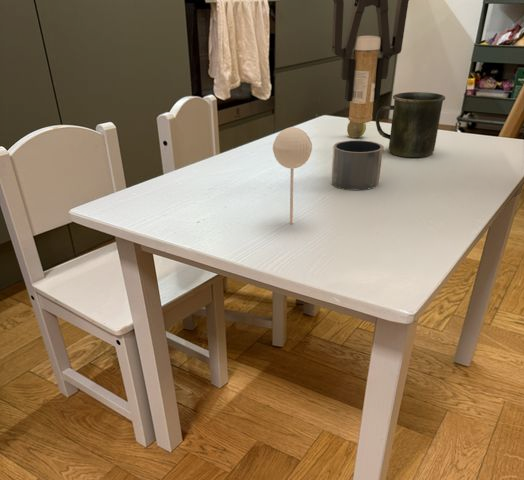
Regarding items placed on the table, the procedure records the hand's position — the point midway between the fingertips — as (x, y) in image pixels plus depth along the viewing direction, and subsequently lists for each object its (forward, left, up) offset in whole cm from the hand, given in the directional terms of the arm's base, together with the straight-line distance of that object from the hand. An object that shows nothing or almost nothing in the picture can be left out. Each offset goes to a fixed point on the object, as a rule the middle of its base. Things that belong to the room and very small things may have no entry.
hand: (361, 99), depth 91 cm
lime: (-8, -37, -15) cm, 41 cm away
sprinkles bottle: (0, 0, -4) cm, 4 cm away
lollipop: (+15, +20, -15) cm, 29 cm away
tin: (0, 0, -15) cm, 15 cm away
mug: (-16, -21, -15) cm, 31 cm away
